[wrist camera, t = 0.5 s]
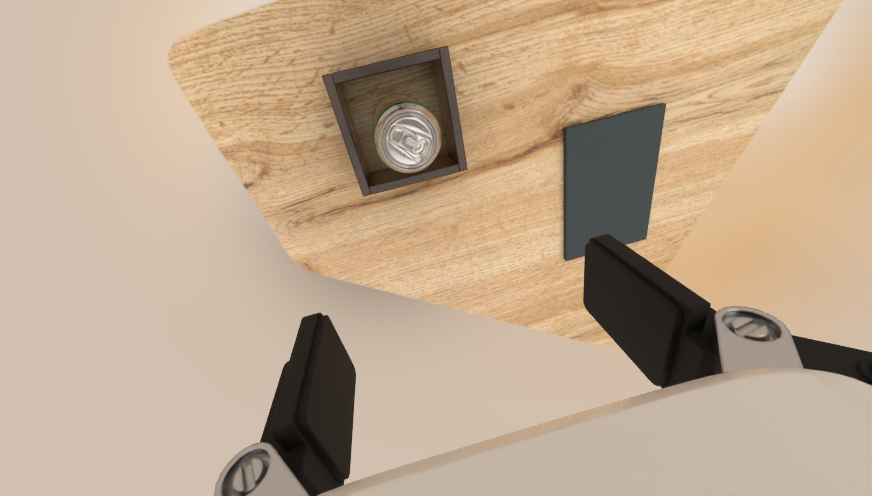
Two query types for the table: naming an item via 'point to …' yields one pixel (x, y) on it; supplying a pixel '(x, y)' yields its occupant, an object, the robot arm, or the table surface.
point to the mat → (610, 177)
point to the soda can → (405, 134)
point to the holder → (449, 112)
